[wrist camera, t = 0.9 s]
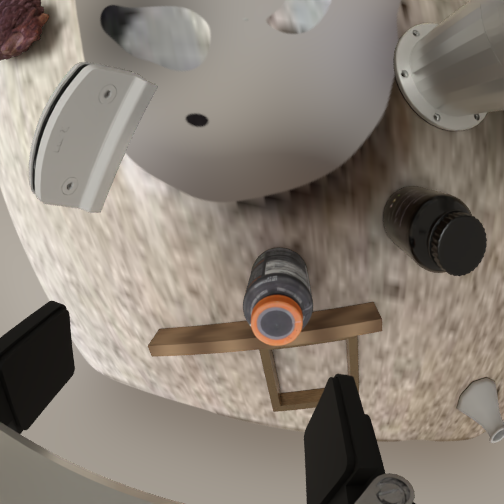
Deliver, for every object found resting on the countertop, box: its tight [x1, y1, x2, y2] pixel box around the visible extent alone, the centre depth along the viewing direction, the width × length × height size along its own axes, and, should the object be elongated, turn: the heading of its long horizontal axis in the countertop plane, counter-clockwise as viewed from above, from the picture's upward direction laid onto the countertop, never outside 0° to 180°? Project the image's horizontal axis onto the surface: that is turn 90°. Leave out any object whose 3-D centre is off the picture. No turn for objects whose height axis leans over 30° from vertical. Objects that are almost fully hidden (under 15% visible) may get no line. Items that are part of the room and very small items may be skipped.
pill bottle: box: [243, 248, 313, 346], centre depth 29 cm, size 6×6×11 cm
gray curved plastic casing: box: [29, 62, 158, 213], centre depth 28 cm, size 17×5×10 cm, turn 150°
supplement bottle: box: [383, 186, 487, 276], centre depth 26 cm, size 7×7×12 cm
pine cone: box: [0, 0, 49, 60], centre depth 23 cm, size 18×10×10 cm, turn 69°
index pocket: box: [259, 336, 359, 412], centre depth 37 cm, size 11×11×2 cm
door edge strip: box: [148, 302, 382, 356], centre depth 35 cm, size 26×2×4 cm, turn 101°
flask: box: [457, 378, 504, 443], centre depth 33 cm, size 7×7×10 cm
